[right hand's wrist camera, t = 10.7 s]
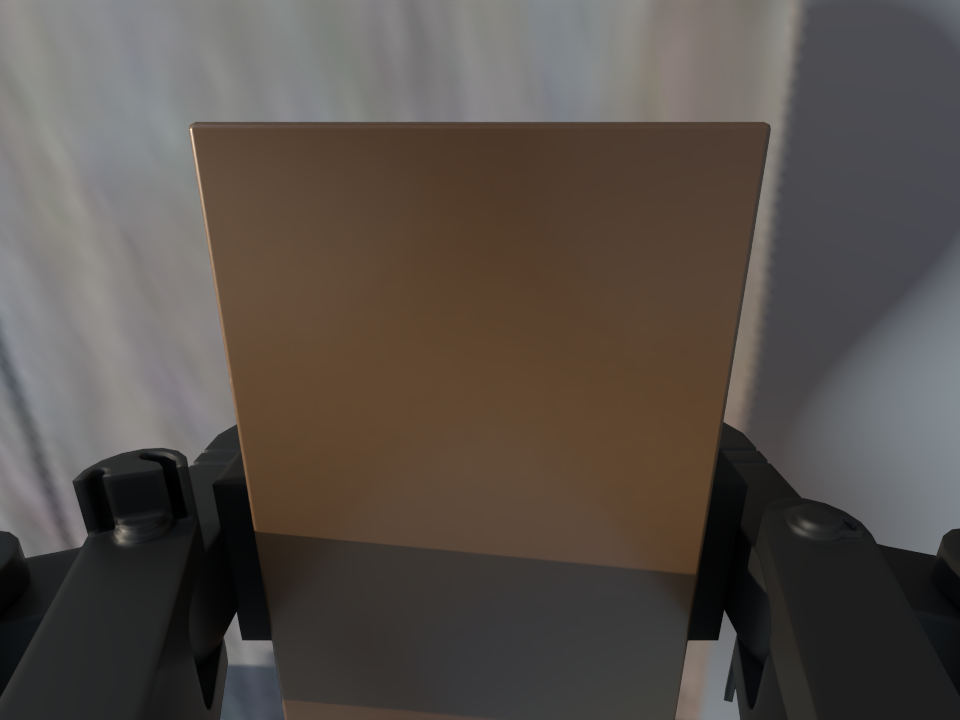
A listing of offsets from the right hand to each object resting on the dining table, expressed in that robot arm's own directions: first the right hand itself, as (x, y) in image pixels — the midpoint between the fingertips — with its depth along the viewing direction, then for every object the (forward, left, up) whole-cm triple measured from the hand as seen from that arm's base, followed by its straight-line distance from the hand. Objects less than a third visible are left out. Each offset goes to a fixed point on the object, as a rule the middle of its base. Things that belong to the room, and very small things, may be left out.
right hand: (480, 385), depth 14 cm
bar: (+13, +23, -1) cm, 26 cm away
